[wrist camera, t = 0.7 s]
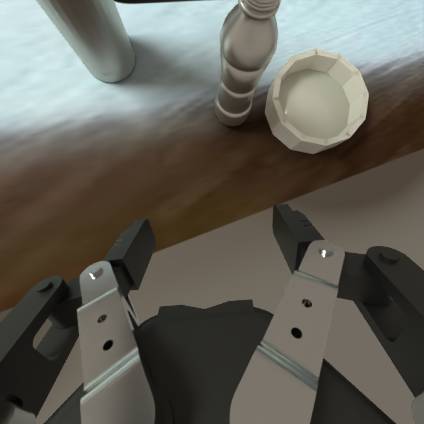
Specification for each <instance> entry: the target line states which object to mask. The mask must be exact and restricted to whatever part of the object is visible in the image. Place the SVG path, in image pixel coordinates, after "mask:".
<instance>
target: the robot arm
mask: <svg viewBox="0 0 424 424" xmlns="http://www.w3.org/2000/svg"><path fill="white" fill-rule="evenodd" d="M36 1H37V2H38V4H39V5H40V6H41V8H42V9H43V10H44V12H45V13H46V14H47V16H48V17H49V18H50V20H51V21H52V22H53V24H54V25H55V26H56V28H57V29H58V30H59V32H60V33H61V34H62V36H63V37H64V38H65V40H66V41H67V42H68V44H69V45H70V46H71V48H72V49H73V50H74V52H75V53H76V54H77V56H78V57H79V58H80V60H81V61H82V62H83V64H84V65H85V66H86V68H87V69H88V70H89V72H90V73H91V74H92V75H93V76H94V77H96V78H97V79H99V80H101V81H104V82H118V81H121V80H123V79H125V78H126V77H127V76H128V75H129V74H130V73H131V72H132V70H133V69H134V66H135V60H136V59H135V53H134V50H133V48H132V45H131V43H130V40H129V38H128V35H127V33H126V30H125V28H124V25H123V23H122V20H121V18H120V15H119V13H118V10H117V8H116V5H115V3H114V0H36ZM273 233H274V236H275V238H276V240H277V242H278V245H279V247H280V249H281V251H282V253H283V255H284V258H285V260H286V262H287V264H288V266H289V268H290V271H291V273H292V277H291V280H290V282H289V284H288V286H287V289H286V290H285V292H284V295H283V297H282V299H281V301H280V303H279V305H278V308H277V310H276V312H275V314H272V313H270V312H268V311H266V310H263V309H260V308H256V307H253V302H252V300H239V301H228V302H225V303H222V304H219V305H216V306H213V307H210V308H207V309H201V308H196V307H190V306H185V305H175V306H162V307H160V308H159V312H158V315H156V316H154V317H151V318H149V319H148V320H146V321H144V322H143V323H142V324H140V322H139V319H138V317H137V315H136V312H135V310H134V307H133V305H132V302H131V300H130V298H129V296H128V293H129V291H130V290H138V289H139V287H140V284H141V282H142V279H143V277H144V274H145V271H146V269H147V266H148V264H149V261H150V259H151V256H152V254H153V251H154V249H155V245H156V240H155V237H154V234H153V231H152V228H151V226H150V223H149V221H148V220H147V219H143V220H135V221H134V222H133V223H132V225H131V226H130V228H129V229H127V230H125V231H124V232H123V233H122V234H121V235H120V236H119V238H118V239H117V241H116V242H115V243H114V246H112V248H111V249H110V251H109V252H108V253H107V255H106V256H105V258H104V259H103V261H101V262H97V263H95V264H93V265H91V266H89V267H88V268H86V269H85V270H84V271H83V272H82V274H81V276H80V277H79V278H76V279H73V280H70V281H67V282H65V281H64V280H63V278H62V277H61V276H52V277H49V278H46V279H44V280H42V281H41V282H39V283H38V284H36V285H35V286H34V287H33V288H32V289H31V290H30V291H29V292H28V293H27V294H26V295H25V296H24V297H23V298H22V299H21V300H20V302H19V303H18V304H17V305H16V306H15V307H14V308H13V309H12V310H11V311H10V313H9V314H8V315H7V316H6V317H5V318H4V319H3V320H2V321H1V322H0V424H36V417H37V415H38V413H39V411H40V409H41V407H42V406H43V404H44V402H45V400H46V398H47V396H48V394H49V392H50V390H51V388H52V386H53V384H54V383H55V381H56V379H57V377H58V375H59V373H60V371H61V369H62V367H63V365H64V363H65V362H66V360H67V358H68V356H69V354H70V352H71V350H72V348H73V346H74V344H75V342H76V340H77V338H78V337H80V348H81V359H82V370H83V380H84V382H83V383H82V384H81V385H80V387H78V389H77V390H76V391H75V392H74V393H73V394H72V395H71V396H70V397H69V398H68V399H67V400H66V401H65V402H64V403H63V404H62V405H61V406H60V407H59V408H58V409H57V410H56V411H55V413H53V415H52V416H51V417H50V418H49V419H48V420H47V421H46V422H45V423H44V424H396V423H395V422H393V421H392V420H391V419H390V418H389V417H388V416H387V415H386V414H385V413H384V412H383V411H381V410H380V409H379V408H378V407H377V406H376V405H375V404H374V403H373V402H372V401H370V400H369V399H368V398H367V397H366V396H365V395H364V394H363V393H362V392H360V391H359V390H358V389H357V388H356V387H355V386H354V385H353V384H352V383H351V382H349V381H348V380H347V379H346V378H345V377H344V376H343V375H342V374H341V373H340V372H338V371H337V370H336V369H335V368H334V367H333V366H332V365H331V364H330V363H329V362H327V361H326V360H325V359H324V358H323V356H324V352H325V348H326V343H327V338H328V334H329V329H330V325H331V320H332V316H333V311H334V307H335V302H336V297H338V298H343V299H348V300H352V301H354V302H355V304H356V306H357V307H358V309H359V310H360V312H361V313H362V315H363V317H364V318H365V320H366V321H367V323H368V324H369V326H370V327H371V329H372V331H373V332H374V334H375V335H376V337H377V338H378V340H379V342H380V343H381V345H382V346H383V348H384V350H385V351H386V353H387V354H388V356H389V357H390V359H391V360H392V362H393V364H394V365H395V367H396V368H397V370H398V371H399V373H400V375H401V376H402V378H403V379H404V381H405V382H406V384H407V386H408V387H409V389H410V390H411V392H412V393H413V395H414V397H415V399H414V400H413V401H412V405H411V411H412V415H413V419H414V421H415V423H416V424H424V271H423V270H422V269H421V268H420V267H419V266H418V265H417V264H416V263H414V262H413V261H412V260H411V259H410V258H409V257H407V256H406V255H405V254H403V253H401V252H399V251H397V250H395V249H392V248H388V247H383V246H374V247H371V248H369V249H368V250H367V253H366V255H365V254H357V253H349V252H344V250H343V249H342V248H341V247H340V246H339V245H337V244H335V243H333V242H331V241H327V240H324V238H323V237H322V236H321V235H320V233H319V232H318V231H317V230H316V229H315V227H314V226H313V225H312V224H311V222H310V221H309V220H308V219H307V217H306V216H305V215H304V214H302V213H300V212H299V211H292V209H291V208H290V207H289V205H288V204H279V205H274V207H273ZM46 319H48V320H49V321H50V322H51V323H52V326H51V327H50V329H49V330H48V332H47V333H46V335H45V336H44V338H43V339H42V341H41V342H40V344H39V345H38V347H37V348H36V350H35V349H34V348H33V339H34V336H35V335H36V333H37V332H38V331H39V329H40V328H41V326H42V325H43V323H44V322H45V321H46Z"/></svg>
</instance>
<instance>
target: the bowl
mask: <svg viewBox="0 0 424 424" xmlns="http://www.w3.org/2000/svg"><path fill="white" fill-rule="evenodd" d="M368 97H369V94H368V91H367V89H366V86H365V84H364V81H363V78H362V76H361V73H360V71H359V70H358V69H357V68H355V67H354V66H353V65H352V64H351V63H350V62H348V61H347V60H346V59H345V58H344V57H343V56H341V55H340V54H336V53H331V52H327V51H323V50H318V49H314V50H311V51H307V52H304V53H301V54H298V55H294V56H292V57H291V58H290V59H289V61H288V62H287V63H286V64H285V65H284V66H283V67H282V68H281V70H280V71H279V72H278V73H277V74H276V76H275V78H274V80H273V82H272V84H271V86H270V88H269V90H268V95H267V101H266V107H265V115H266V118H267V120H268V123H269V126H270V128H271V131H272V134H273V135H274V136H275V137H276V138H278V139H279V140H280V141H281V142H282V143H283V144H285V145H286V146H287V147H288V148H289V149H290V150H295V151H300V152H305V153H310V154H315V153H318V152H321V151H323V150H326V149H329V148H332V147H335V146H336V145H338V144H340V143H342V142H343V141H345V140H347V139H349V138H350V137H351V136H352V135H353V134H354V132H355V131H356V130H357V129H358V127H359V126H360V125H361V124H362V123H363V121H364V120H365V119H366V112H367V104H368Z"/></svg>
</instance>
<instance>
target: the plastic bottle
mask: <svg viewBox="0 0 424 424" xmlns="http://www.w3.org/2000/svg"><path fill="white" fill-rule="evenodd" d="M280 1H281V0H238V4H237V5H236V6H235V7H234V8H233V9H232V10H231V11H230V13H229V14H228V15H227V17H226V19H225V21H224V24H223V26H222V29H221V33H220V49H221V80H220V84H219V89H218V92H217V94H216V97H215V101H214V109H215V114H216V116H217V118H218V120H219V121H220V122H221V123H223V124H225V125H227V126H238V125H240V124H242V123H243V122H244V121H245V120H246V119H247V117H248V116H249V114H250V112H251V107H252V99H253V95H254V91H255V88H256V86H257V84H258V82H259V80H260V77H261V75H262V74H263V72H264V70H265V69H266V67H267V65H268V64H269V62H270V60H271V59H272V56H273V54H274V52H275V50H276V47H277V39H278V28H277V22H276V18H275V14H276V13H277V10H278V8H279V5H280Z"/></svg>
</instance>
